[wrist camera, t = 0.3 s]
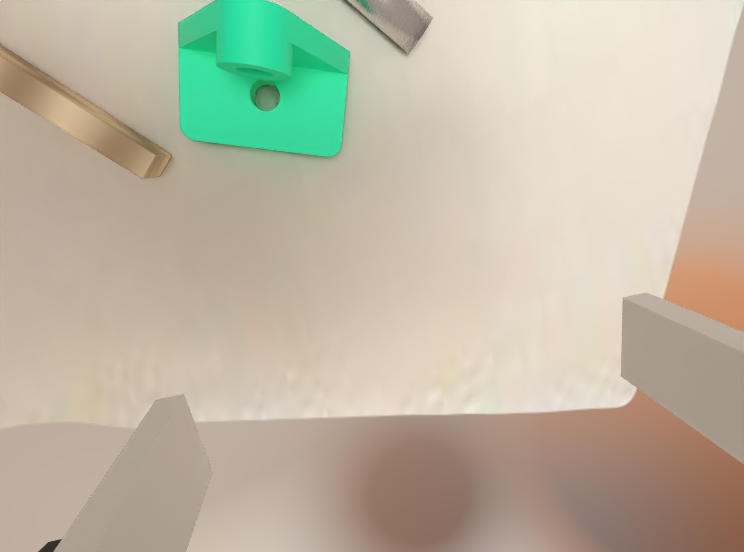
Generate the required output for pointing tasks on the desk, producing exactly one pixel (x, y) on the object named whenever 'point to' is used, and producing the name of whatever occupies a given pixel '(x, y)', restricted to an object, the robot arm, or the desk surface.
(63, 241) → the desk surface
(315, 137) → the camera mount
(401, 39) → the shaft stub
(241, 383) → the desk surface
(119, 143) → the u-shaped wooden frame
